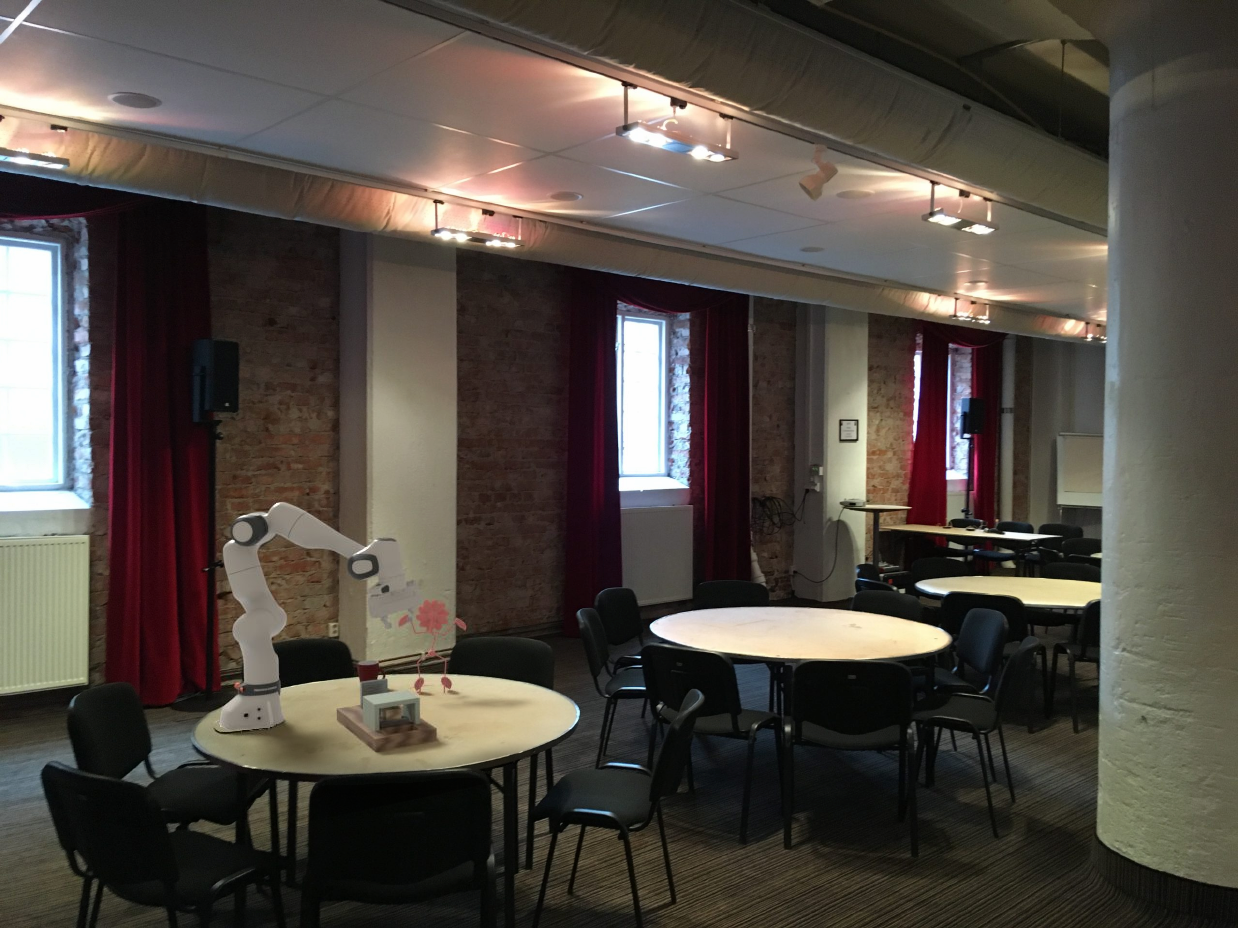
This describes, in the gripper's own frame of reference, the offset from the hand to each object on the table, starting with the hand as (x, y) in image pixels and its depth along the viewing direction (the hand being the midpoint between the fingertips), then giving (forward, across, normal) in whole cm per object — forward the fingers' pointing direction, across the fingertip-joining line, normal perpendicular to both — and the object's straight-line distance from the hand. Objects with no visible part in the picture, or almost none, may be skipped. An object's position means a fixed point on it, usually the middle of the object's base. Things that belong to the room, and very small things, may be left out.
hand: (399, 625), depth 326 cm
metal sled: (+28, +10, -3) cm, 30 cm away
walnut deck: (+33, +11, -3) cm, 34 cm away
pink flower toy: (+33, -34, -30) cm, 56 cm away
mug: (+29, -22, -51) cm, 63 cm away
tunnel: (+29, +13, +4) cm, 32 cm away
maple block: (+29, +13, +4) cm, 32 cm away
